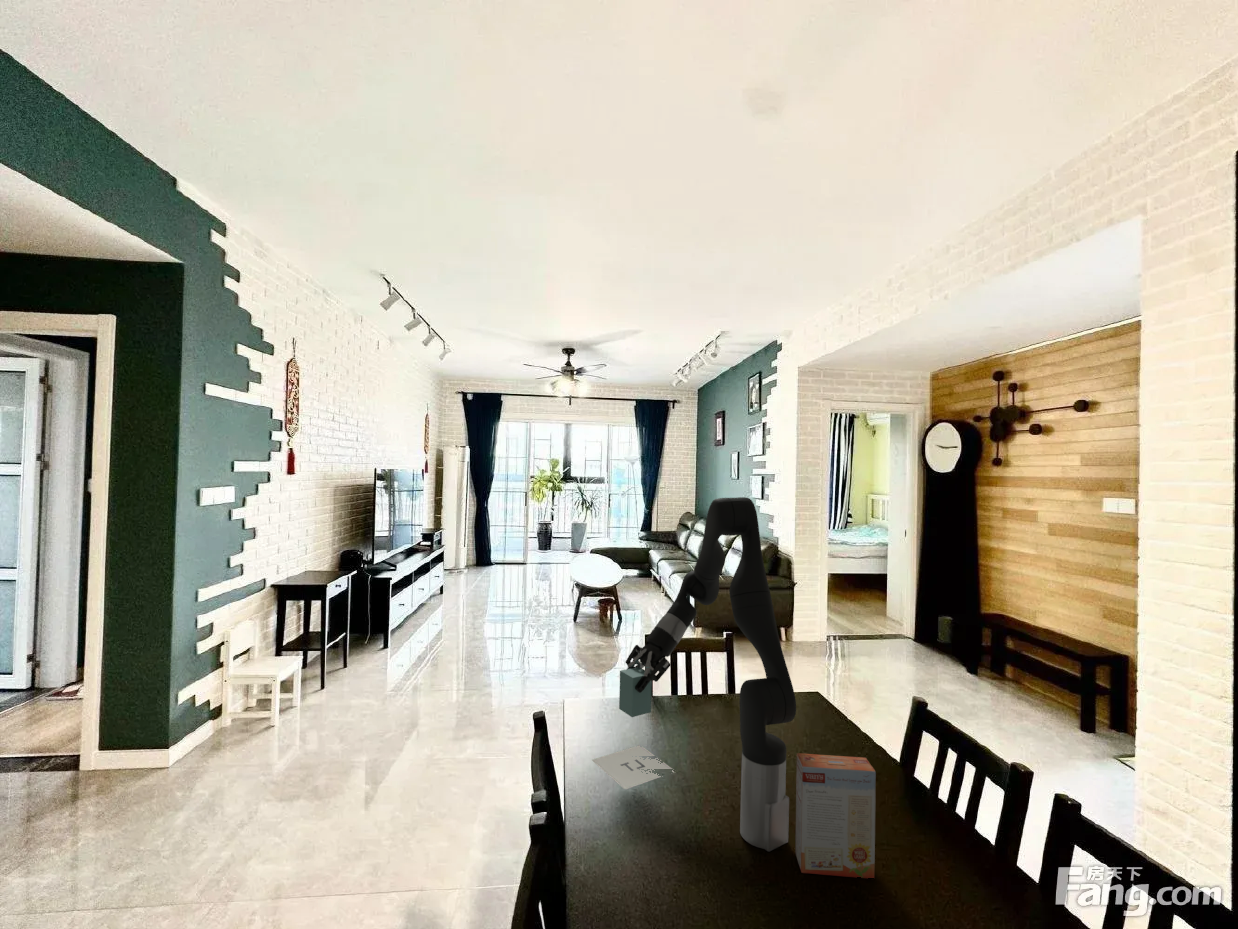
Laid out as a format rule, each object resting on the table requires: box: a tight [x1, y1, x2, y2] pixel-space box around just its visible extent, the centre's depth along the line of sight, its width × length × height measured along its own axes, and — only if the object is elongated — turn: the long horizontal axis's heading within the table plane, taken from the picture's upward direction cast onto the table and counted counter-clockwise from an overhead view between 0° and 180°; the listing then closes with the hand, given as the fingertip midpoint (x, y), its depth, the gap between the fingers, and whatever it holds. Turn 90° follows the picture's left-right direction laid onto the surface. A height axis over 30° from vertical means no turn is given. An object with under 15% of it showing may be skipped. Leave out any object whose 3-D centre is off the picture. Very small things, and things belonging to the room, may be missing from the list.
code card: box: [591, 744, 675, 790], centre depth 146 cm, size 16×16×1 cm
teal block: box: [618, 666, 653, 718], centre depth 146 cm, size 6×6×10 cm
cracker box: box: [795, 752, 877, 879], centre depth 111 cm, size 14×6×21 cm, turn 84°
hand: (630, 686), depth 145 cm, fingers closed on teal block, 6 cm apart
